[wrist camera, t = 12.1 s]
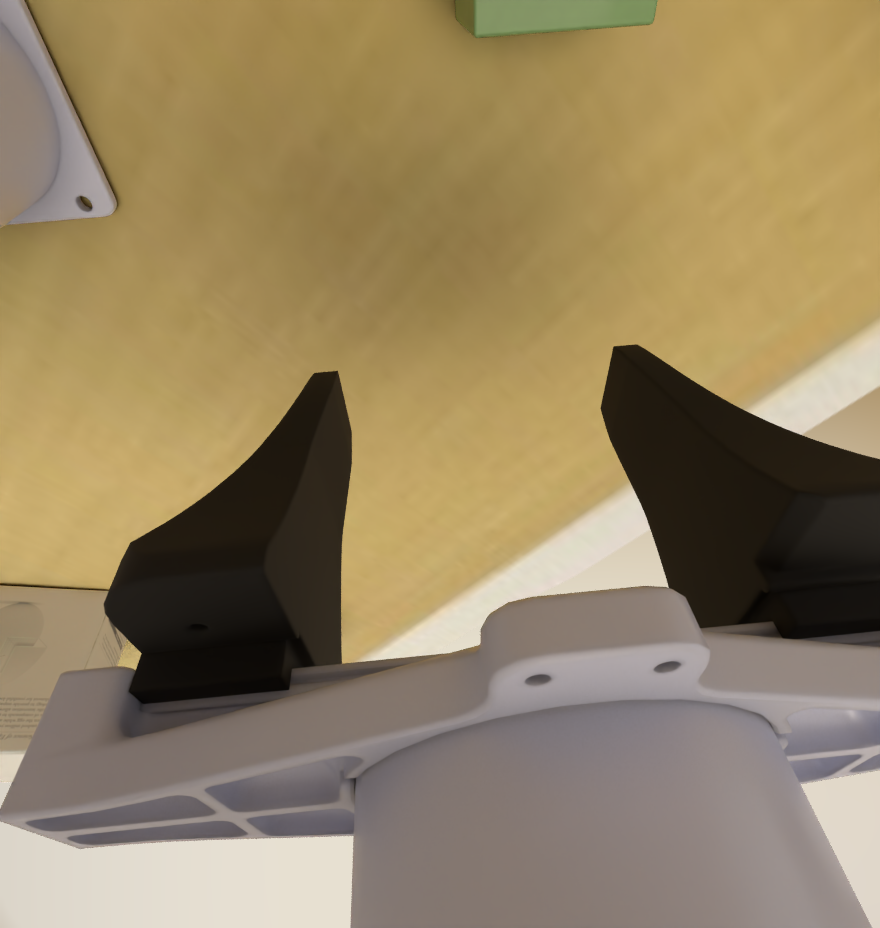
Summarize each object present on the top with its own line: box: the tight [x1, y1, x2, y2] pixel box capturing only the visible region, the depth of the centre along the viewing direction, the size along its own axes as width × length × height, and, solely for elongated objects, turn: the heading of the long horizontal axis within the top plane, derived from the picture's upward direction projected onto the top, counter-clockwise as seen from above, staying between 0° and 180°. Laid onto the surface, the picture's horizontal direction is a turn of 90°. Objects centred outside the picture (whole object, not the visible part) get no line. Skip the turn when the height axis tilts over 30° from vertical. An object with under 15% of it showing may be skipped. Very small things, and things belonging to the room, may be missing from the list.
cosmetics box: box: [0, 585, 127, 782], centre depth 34 cm, size 10×6×10 cm, turn 76°
